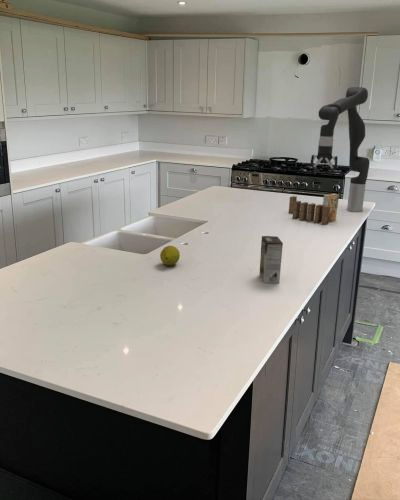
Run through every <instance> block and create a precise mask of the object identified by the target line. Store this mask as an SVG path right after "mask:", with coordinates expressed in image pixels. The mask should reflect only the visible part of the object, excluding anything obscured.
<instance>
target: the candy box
mask: <svg viewBox="0 0 400 500" xmlns="http://www.w3.org/2000/svg"><path fill="white" fill-rule="evenodd" d="M339 198H340V195H339V194H336V193H330V194H329V193H328V194H324V195H323V201H322V205H323V207H325V206H331V207H330V216H329V223H331V222H336V221H337V214H338V207H339ZM322 215H323V210H322ZM321 223H322V220H321Z"/></svg>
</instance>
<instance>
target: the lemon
mask: <svg viewBox="0 0 400 500" xmlns="http://www.w3.org/2000/svg"><path fill="white" fill-rule="evenodd" d="M159 254H160V256H159V257H160V261H161V263H163V264H164V265H166V266H173V265H175V264H177V263H178V261H179V260H180V255H181V254H180V250H179V249H178V248H177V246H174V245H167V246H165V247H164V248H163V249H162V250H161V251H160V253H159Z"/></svg>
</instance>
